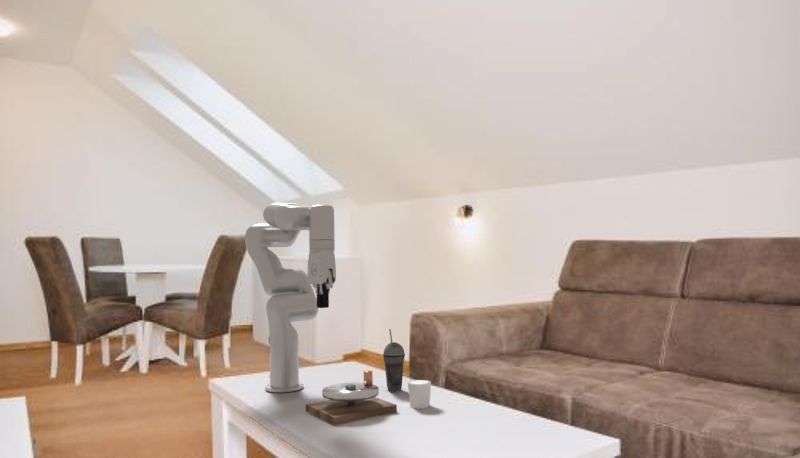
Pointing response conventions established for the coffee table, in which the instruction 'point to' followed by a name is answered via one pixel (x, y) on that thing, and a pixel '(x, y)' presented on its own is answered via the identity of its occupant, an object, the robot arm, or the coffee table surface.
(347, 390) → the handwheel
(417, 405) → the white faceted cup
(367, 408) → the wheel base
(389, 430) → the coffee table surface
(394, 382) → the beverage cup
